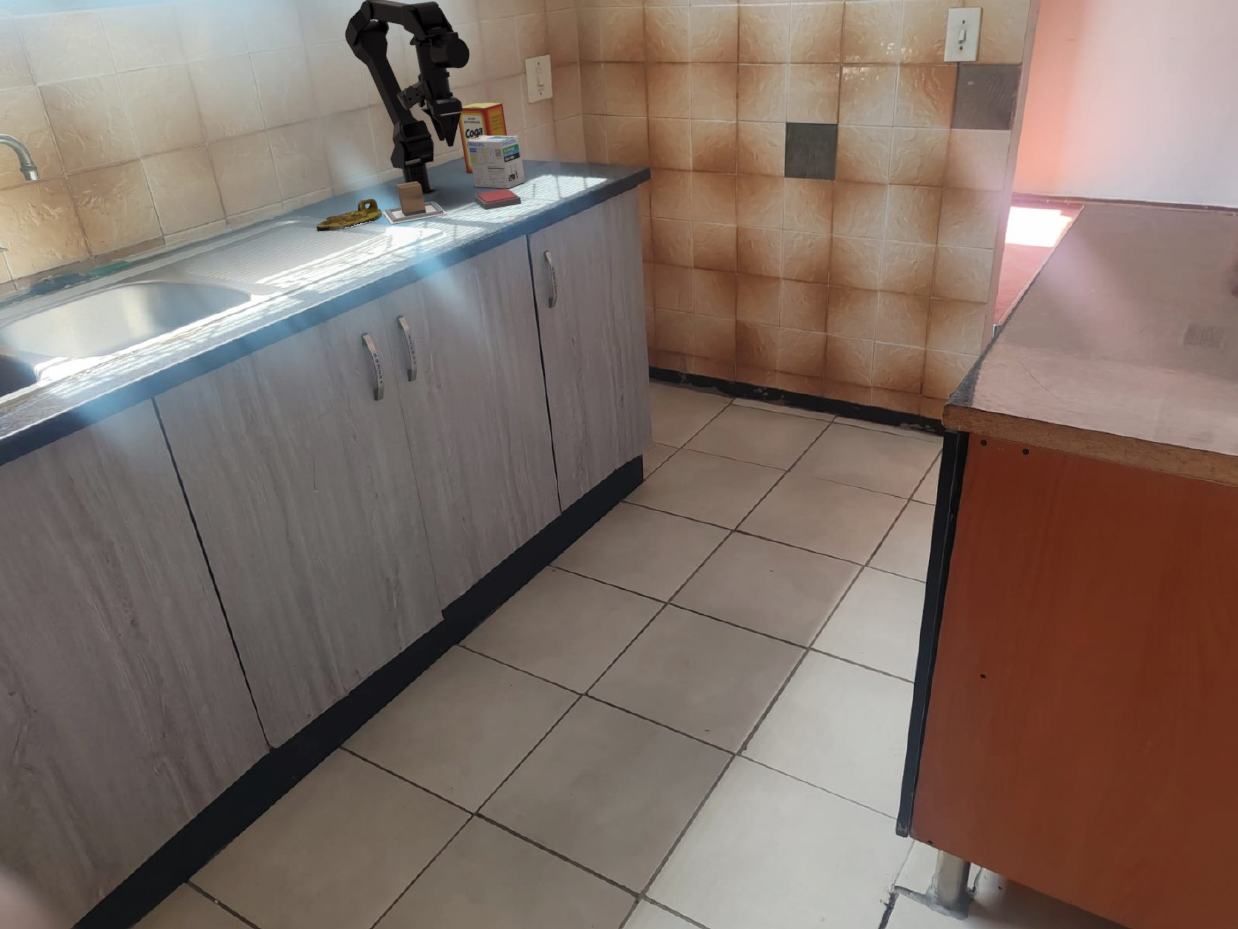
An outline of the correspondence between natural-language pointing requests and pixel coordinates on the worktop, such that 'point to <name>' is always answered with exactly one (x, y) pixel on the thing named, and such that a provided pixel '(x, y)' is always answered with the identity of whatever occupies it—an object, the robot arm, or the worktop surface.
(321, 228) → the seal
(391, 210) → the frame
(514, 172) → the light bulb box
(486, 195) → the ink pad
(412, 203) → the brown cardboard box
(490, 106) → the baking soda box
